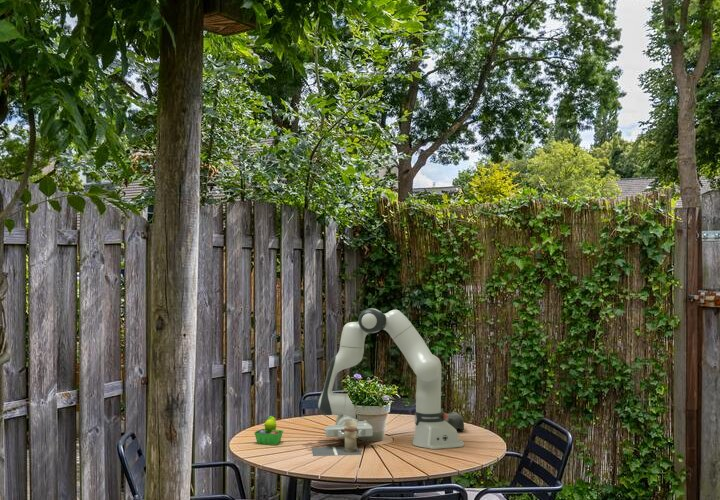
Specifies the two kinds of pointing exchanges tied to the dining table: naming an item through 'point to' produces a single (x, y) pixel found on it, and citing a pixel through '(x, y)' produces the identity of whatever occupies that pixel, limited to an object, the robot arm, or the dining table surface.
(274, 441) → the fruit basket
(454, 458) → the dining table surface
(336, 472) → the dining table surface
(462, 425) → the rock
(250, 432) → the dining table surface
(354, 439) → the skittle
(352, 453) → the lane mat
